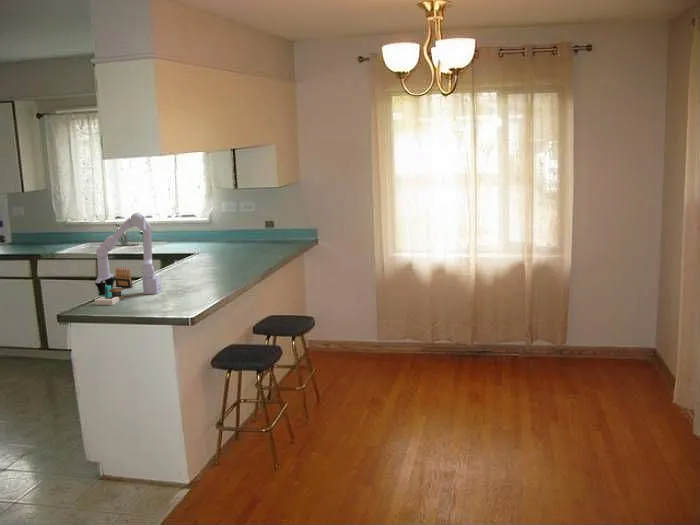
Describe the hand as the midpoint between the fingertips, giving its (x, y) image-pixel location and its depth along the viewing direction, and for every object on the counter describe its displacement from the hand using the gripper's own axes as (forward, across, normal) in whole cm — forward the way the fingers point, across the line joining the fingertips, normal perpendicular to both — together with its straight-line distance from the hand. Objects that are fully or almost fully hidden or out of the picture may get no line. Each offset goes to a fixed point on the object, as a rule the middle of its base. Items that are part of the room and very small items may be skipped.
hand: (106, 293), depth 376 cm
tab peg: (+2, 0, 0) cm, 2 cm away
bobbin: (+2, +3, +8) cm, 8 cm away
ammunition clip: (+2, -22, -1) cm, 22 cm away
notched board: (+2, +13, +8) cm, 15 cm away
